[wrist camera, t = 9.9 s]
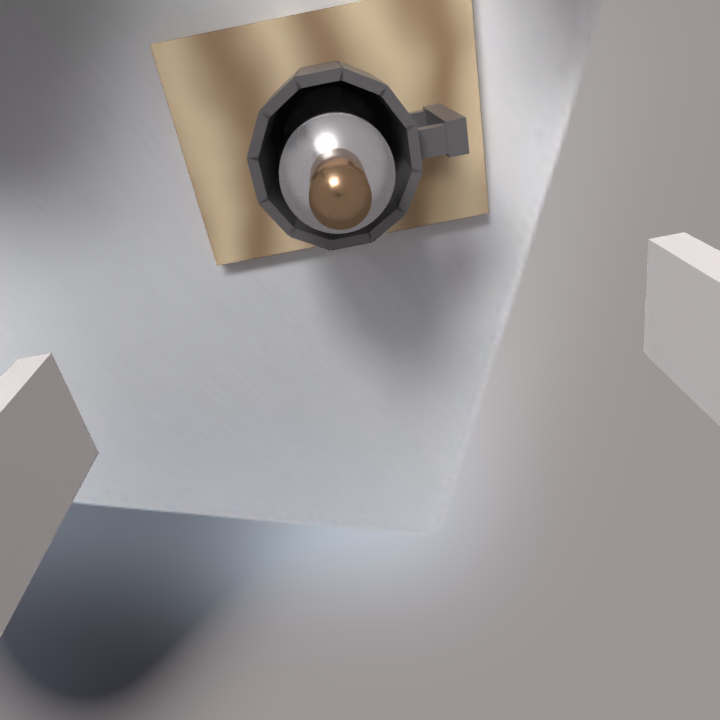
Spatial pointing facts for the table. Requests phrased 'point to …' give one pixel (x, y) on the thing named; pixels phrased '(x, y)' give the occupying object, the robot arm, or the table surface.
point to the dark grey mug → (398, 127)
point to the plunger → (335, 161)
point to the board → (278, 63)
